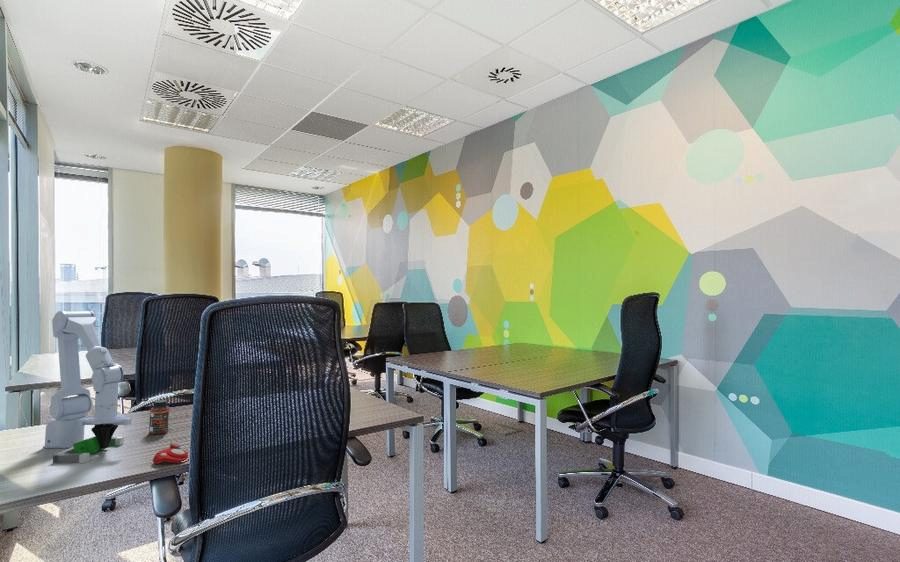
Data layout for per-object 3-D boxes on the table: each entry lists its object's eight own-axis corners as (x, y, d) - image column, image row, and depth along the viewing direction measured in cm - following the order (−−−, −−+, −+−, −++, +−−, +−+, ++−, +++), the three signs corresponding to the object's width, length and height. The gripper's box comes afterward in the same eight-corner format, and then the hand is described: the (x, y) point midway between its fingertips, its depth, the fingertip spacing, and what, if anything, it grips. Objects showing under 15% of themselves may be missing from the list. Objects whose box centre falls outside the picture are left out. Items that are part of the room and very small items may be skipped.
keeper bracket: (52, 463, 130) (52, 455, 130) (94, 443, 147) (95, 436, 147) (84, 462, 130) (85, 455, 131) (123, 443, 148) (123, 436, 148)
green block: (87, 455, 134) (83, 440, 134) (76, 458, 134) (72, 444, 134) (118, 443, 145) (114, 429, 145) (107, 446, 145) (104, 432, 146)
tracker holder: (198, 456, 136) (165, 457, 127) (192, 470, 135) (158, 472, 127) (180, 439, 142) (147, 439, 134) (174, 452, 142) (141, 453, 134)
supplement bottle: (150, 436, 156) (152, 403, 157) (147, 432, 160) (148, 400, 161) (170, 432, 160) (171, 401, 161) (166, 428, 165) (168, 398, 165)
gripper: (72, 407, 135) (69, 452, 135) (121, 407, 136) (119, 452, 136) (89, 402, 142) (87, 444, 142) (136, 402, 143) (134, 444, 143)
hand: (104, 448), depth 139 cm, fingers closed
